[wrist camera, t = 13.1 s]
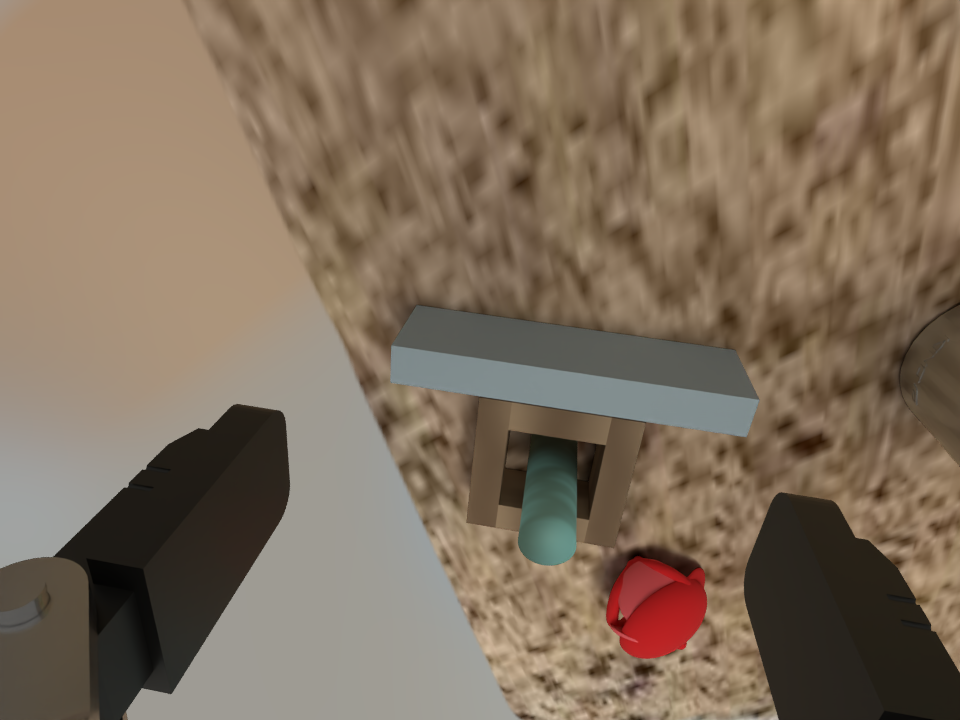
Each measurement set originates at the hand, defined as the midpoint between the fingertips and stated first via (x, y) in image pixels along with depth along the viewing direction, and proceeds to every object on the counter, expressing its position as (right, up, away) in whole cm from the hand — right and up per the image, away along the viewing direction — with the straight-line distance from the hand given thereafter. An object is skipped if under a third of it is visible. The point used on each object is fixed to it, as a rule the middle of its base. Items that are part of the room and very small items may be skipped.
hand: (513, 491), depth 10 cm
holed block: (+4, -3, +33) cm, 33 cm away
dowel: (+5, -3, +33) cm, 33 cm away
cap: (+13, -14, +38) cm, 42 cm away
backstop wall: (+5, +3, +29) cm, 30 cm away
